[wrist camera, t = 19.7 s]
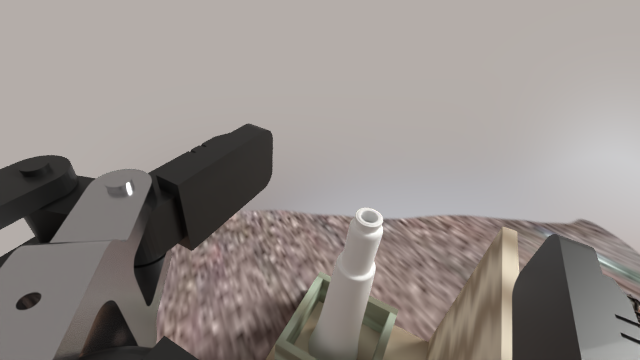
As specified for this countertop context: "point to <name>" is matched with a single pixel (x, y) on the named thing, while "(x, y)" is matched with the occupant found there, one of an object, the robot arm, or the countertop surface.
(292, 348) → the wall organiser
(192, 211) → the robot arm
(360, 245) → the cosmetic bottle
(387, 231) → the countertop surface
